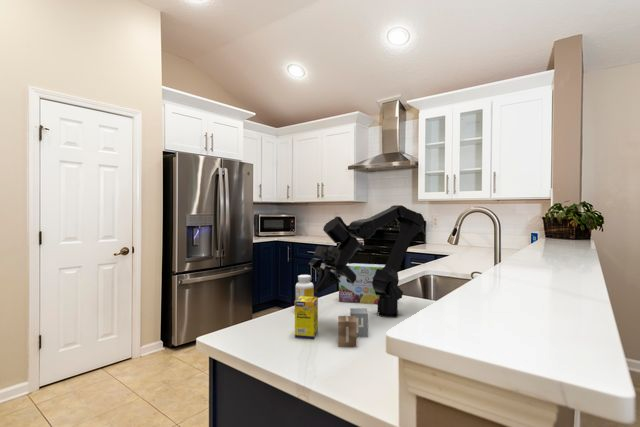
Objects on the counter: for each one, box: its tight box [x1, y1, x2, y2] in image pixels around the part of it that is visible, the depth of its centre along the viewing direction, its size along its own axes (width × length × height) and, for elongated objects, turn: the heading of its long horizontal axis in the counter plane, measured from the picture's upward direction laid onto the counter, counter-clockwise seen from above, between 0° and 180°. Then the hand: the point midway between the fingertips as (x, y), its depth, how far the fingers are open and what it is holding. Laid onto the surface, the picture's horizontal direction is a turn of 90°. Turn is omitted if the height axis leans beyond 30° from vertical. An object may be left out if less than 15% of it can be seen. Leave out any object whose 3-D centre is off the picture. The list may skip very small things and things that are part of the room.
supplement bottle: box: [295, 274, 315, 301], centre depth 127 cm, size 7×7×13 cm
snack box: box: [338, 262, 386, 305], centre depth 138 cm, size 21×6×15 cm, turn 77°
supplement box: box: [294, 296, 319, 340], centre depth 104 cm, size 6×6×11 cm
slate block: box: [349, 307, 369, 338], centre depth 105 cm, size 5×5×7 cm
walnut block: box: [337, 315, 357, 348], centre depth 98 cm, size 5×5×7 cm
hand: (316, 292), depth 106 cm, fingers closed
